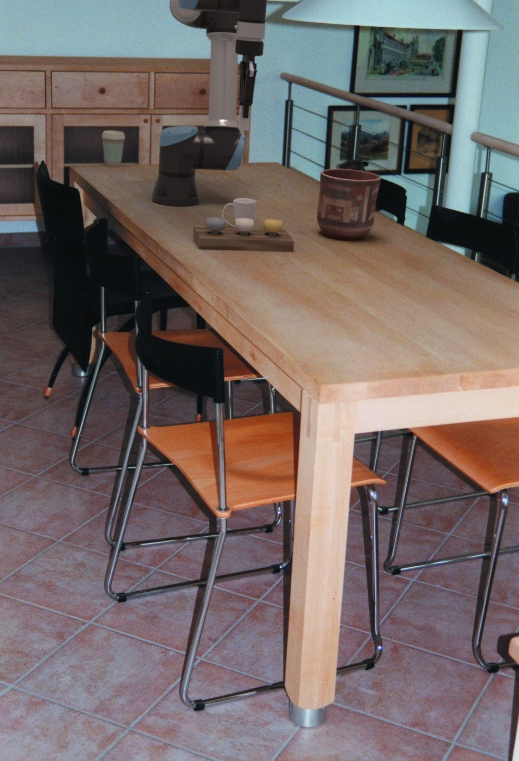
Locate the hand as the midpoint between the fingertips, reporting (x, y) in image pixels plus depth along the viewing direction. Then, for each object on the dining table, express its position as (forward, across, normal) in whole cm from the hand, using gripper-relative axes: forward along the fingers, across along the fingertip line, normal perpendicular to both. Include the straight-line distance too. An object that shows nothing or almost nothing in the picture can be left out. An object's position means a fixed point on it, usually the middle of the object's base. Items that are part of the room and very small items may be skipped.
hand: (243, 129), depth 270 cm
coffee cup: (+30, -96, -30) cm, 105 cm away
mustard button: (+28, +11, +8) cm, 31 cm away
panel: (+29, +11, 0) cm, 31 cm away
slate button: (+28, +11, -8) cm, 31 cm away
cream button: (+28, +11, 0) cm, 30 cm away
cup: (+30, -8, +2) cm, 31 cm away
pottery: (+30, -3, +33) cm, 44 cm away
